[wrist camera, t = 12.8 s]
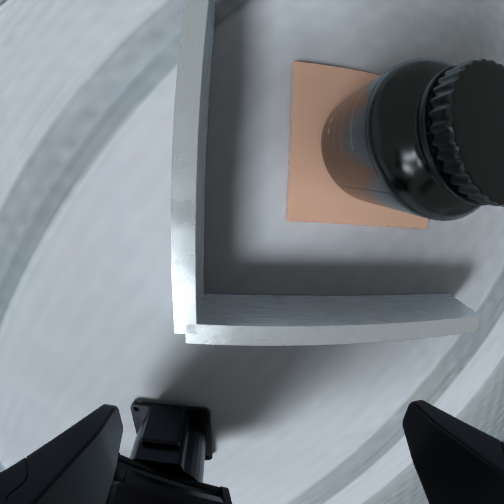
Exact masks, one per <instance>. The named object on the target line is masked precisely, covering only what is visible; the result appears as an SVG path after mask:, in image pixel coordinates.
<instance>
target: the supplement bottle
mask: <svg viewBox="0 0 504 504" xmlns="http://www.w3.org/2000/svg"><path fill="white" fill-rule="evenodd" d="M321 152H322V157H323V161H324V164H325V167H326V169H327V171H328V173H329V175H330V176H331V178H332V179H333V181H334V182H335V183H336V184H337V185H338V186H339V187H340V188H341V189H342V190H343V191H344V192H346V193H347V194H349V195H350V196H352V197H354V198H356V199H359V200H361V201H365V202H368V203H372V204H375V205H379V206H383V207H387V208H391V209H394V210H398V211H402V212H405V213H409V214H413V215H416V216H420V217H423V218H428V219H433V220H440V221H450V220H456V219H459V218H463V217H465V216H467V215H469V214H471V213H473V212H474V211H476V210H477V209H478V208H479V207H481V206H482V205H492V206H502V207H504V66H503V65H502V64H497V63H495V62H494V61H493V60H489V61H487V60H485V59H478V60H470V61H468V62H465V63H463V64H460V65H456V66H454V65H452V64H449V63H447V62H444V61H441V60H437V59H430V58H418V59H412V60H408V61H405V62H403V63H401V64H398V65H396V66H395V67H393V68H391V69H390V70H388V71H387V72H385V73H383V74H382V75H380V76H379V77H377V78H376V79H374V80H373V81H371V82H370V83H368V84H367V85H365V86H364V87H362V88H361V89H359V90H358V91H356V92H355V93H354V94H352V95H351V96H349V97H348V98H346V99H345V100H344V101H342V102H341V103H340V104H339V105H337V106H336V107H335V108H334V109H333V111H332V112H331V113H330V115H329V116H328V118H327V120H326V122H325V124H324V127H323V131H322V136H321Z"/></svg>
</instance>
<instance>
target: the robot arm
mask: <svg viewBox="0 0 504 504" xmlns="http://www.w3.org/2000/svg"><path fill="white" fill-rule="evenodd" d="M136 407H138V408H136ZM131 412H132V416H133V421H134V425H135V429H136V433H137V437H136V440H135V443H134V446H133V449H132V452H131V456H130V458H127V457H125V456H122V455H120V453H119V448H120V443H121V438H122V433H123V425H122V421H121V417H120V413H119V410H118V408H117V406H114V405H108V404H104V405H102V406H100V407H99V408H98V409H96V410H95V411H93V412H92V413H90V414H89V415H88V416H86V417H85V418H83V419H82V420H80V421H79V422H77V423H76V424H75V425H73V426H72V427H70V428H69V429H67V430H66V431H64V432H63V433H61V434H60V435H58V436H57V437H55V438H54V439H52V440H51V441H49V442H48V443H47V444H45V445H44V446H42V447H41V448H39V449H37V450H36V451H34V452H33V453H31V454H30V455H28V456H27V459H26V458H24V459H22V460H21V461H19V462H17V463H16V464H14V465H13V466H11V467H9V468H8V469H6V470H4V471H2V472H0V504H232V501H231V497H230V494H229V490H228V488H226V487H217V486H213V485H209V484H205V483H203V472H204V460H211V459H212V437H211V416H210V410H209V409H207V408H201V407H185V406H172V405H162V404H152V403H143V402H133V403H132V405H131ZM202 413H205V414H202ZM403 429H404V432H405V436H406V439H407V443H408V446H409V450H410V454H411V457H412V460H413V463H414V466H415V469H416V471H417V474H418V476H419V479H420V481H421V484H422V486H423V489H424V491H425V494H426V496H427V499H428V502H429V504H504V442H502V441H500V440H498V439H496V438H494V437H492V436H490V435H488V434H486V433H484V432H482V431H480V430H478V429H476V428H474V427H472V426H470V425H469V424H467V423H465V422H463V421H461V420H459V419H457V418H455V417H453V416H451V415H449V414H447V413H446V412H444V411H442V410H440V409H438V408H436V407H434V406H432V405H431V404H429V403H427V402H425V401H423V400H418V401H413V402H411V403H410V404H409V406H408V409H407V411H406V414H405V416H404V419H403Z"/></svg>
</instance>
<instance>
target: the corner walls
mask: <svg viewBox="0 0 504 504" xmlns="http://www.w3.org/2000/svg"><path fill="white" fill-rule="evenodd" d="M215 15H216V12H215V5H214V0H185V7H184V14H183V22H182V30H181V39H180V48H179V58H178V69H177V80H176V93H175V107H174V124H173V144H172V174H171V263H172V293H173V314H174V331H175V333H181V334H186V343H190V344H212V345H248V346H297V345H333V344H354V343H371V342H385V341H398V340H409V339H419V338H429V337H438V336H446V335H454V334H462V333H469V332H476V331H477V328H478V325H479V322H480V318H481V315H479V314H478V313H476V312H475V311H474V310H472V309H471V308H469V307H468V306H466V305H465V304H463V303H462V302H460V301H459V300H457V299H456V298H454V297H453V296H451V295H450V294H448V293H442V294H411V295H356V296H298V295H240V294H208V293H204V216H205V176H206V149H207V127H208V108H209V91H210V76H211V62H212V49H213V37H214V26H215Z"/></svg>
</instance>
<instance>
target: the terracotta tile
mask: <svg viewBox="0 0 504 504" xmlns="http://www.w3.org/2000/svg"><path fill="white" fill-rule="evenodd" d="M379 76H380V75H377V74H373V73H368V72H363V71H358V70H352V69H347V68H341V67H335V66H328V65H321V64H314V63H306V62H297V61H294V62H293V64H292V91H291V121H290V146H289V168H288V187H287V205H286V220H287V221H297V222H318V223H337V224H354V225H371V226H386V227H401V228H415V229H427V228H428V220H429V219H428V218H423V217H420V216H416V215H413V214H409V213H405V212H402V211H398V210H394V209H391V208H387V207H383V206H379V205H375V204H372V203H368V202H365V201H361V200H359V199H356V198H354V197H352V196H350V195H349V194H347V193H346V192H344V191H343V190H342V189H341V188H340V187H339V186H338V185H337V184H336V183H335V182H334V181H333V179H332V178H331V176H330V175H329V173H328V171H327V169H326V167H325V164H324V161H323V157H322V152H321V136H322V131H323V127H324V124H325V122H326V120H327V118H328V116H329V115H330V113H331V112H332V111H333V109H334V108H335V107H336V106H337V105H339V104H340V103H341V102H342V101H344V100H345V99H346V98H348V97H349V96H351V95H352V94H354V93H355V92H356V91H358V90H359V89H361V88H362V87H364V86H365V85H367V84H368V83H370V82H371V81H373V80H374V79H376V78H377V77H379Z"/></svg>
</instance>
